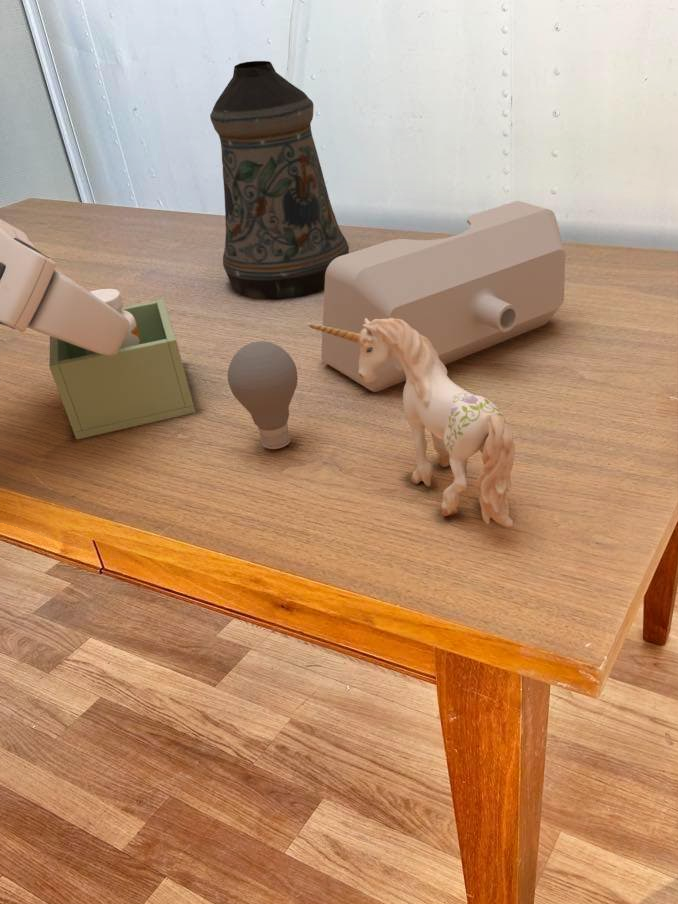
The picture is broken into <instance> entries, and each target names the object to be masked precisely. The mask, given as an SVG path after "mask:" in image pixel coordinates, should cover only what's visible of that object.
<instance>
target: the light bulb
mask: <svg viewBox="0 0 678 904" xmlns="http://www.w3.org/2000/svg"><path fill="white" fill-rule="evenodd" d="M227 382H228V383H227V384H228V386H229V389H230V391H231V393H232V395H233V396H234V398H235V399H236V400H237V401H238V402H239V403H240V404H241V406H242V407H244V408H245V409H246V411H247V412H248V413H249V414H250V416H251V418H252V421H253V423H254V425H255V426H256V427H257V429H258V431H259V436H260V441H261V445H262V447H264V448H265V449H269V450H279V449H282V448H285V447H286V446H288V445H289V443H290V442H291V435H290V431H289V426H288V421H289V419H290V418H289V417H290V405H291V403H292V399H293V397H294V394H295V392H296V389H297V385H298V369H297V365H296V363H295V361H294V360H293V358H292V356H291V355H290V354H289V353H288V352H287V351H286V350H285V349H284V348H282V347H280V346H279V345H278V344H275V343H273V342H270V341H253V342H250V343H248V344H245V345H244V346H242V347H240V348H239V350H237V351H236V353H235V354H234V355H233V357H232V358H231V361H230V363H229V365H228V369H227Z"/></svg>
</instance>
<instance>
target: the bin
mask: <svg viewBox="0 0 678 904" xmlns="http://www.w3.org/2000/svg"><path fill="white" fill-rule="evenodd" d="M122 310H125V311H128V312H129V313H131V314H132V315H133V316H134V319H135V321H136V324H137V328H138V331H139V335H140V339H141V342H142V344H139V345H135V346H130V347H125V348H120V349H119V350H118V352H117V354H116V355H114V356H106V355H102V354H99V353H96V354H92V355H87V353H86V350H85V349H84V348H81V347H78V346H76V345H73V344H70V343H67V342H65V341H62V340H59V339H56V338H54V337H51V336H49V360H48V363H49V366H48V367H49V370H50V372H51V375H52V378H53V381H54V383H55V387H56V389H57V392H58V394H59V398H60V400H61V402H62V405H63V407H64V410H65V413H66V416H67V419H68V421H69V424H70V427H71V429H72V432H73V434H74V437H75V439H76V440H81V439H86V438H90V437H94V436H98V435H102V434H107V433H112V432H117V431H121V430H125V429H128V428H134V427H138V426H143V425H147V424H152V423H155V422H159V421H164V420H165V421H166V420H168V419H173V418H177V417H181V416H186V415H190V414H195V413H196V409H195V405H194V402H193V398H192V394H191V390H190V387H189V383H188V379H187V375H186V372H185V368H184V364H183V360H182V357H181V354H180V353H181V352H180V350H179V345H178V342H177V338H176V335H175V331H174V328H173V326H172V321H171V317H170V316H169V312H168V308H167V305H166V301H165V299H164V298H162V299H161V298H160V299H156V300H155V299H154V300H151V301H146V302H145V301H144V302H141V303H136V304H135V303H134V304H132V305H131V304H130V305H126V306H125V305H124V306H123V309H122Z"/></svg>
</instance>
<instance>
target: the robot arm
mask: <svg viewBox="0 0 678 904" xmlns="http://www.w3.org/2000/svg"><path fill="white" fill-rule="evenodd" d="M56 267H57V264H56V262H55V260H53V259H50V257H48V255H46V254H44V253H42V252H41V251H39V249H37V247H35V246H34V244H33V243H32V242H31V241H30V240H29V237H28V236H27V235H26V233H25V232H23V230H20V229H19V228H17V227H15V226H13V225H11V224H10V223H8V222H6V221H4V220H3V219H1V218H0V325H2V326H5V327H8V328H10V329H13V330H17V331H19V332H21V333H22V332H23V333H24V332H26V330H27V329H30V330H32V331H35V332H38V333H40V334H44V335H45V336H49V337H50V336H51V337H54V338H56V339H59V340H62V341H65V342H67V343H70V344H73V345H76V346H78V347H81V348H84V349H87V350H90V351H92V352H95V353H99V354H102V355H106V356H114V355H116V354H117V352H118V350H119V349H120V348H125V347H130V346H135V345H138V344H139V342H140V340H139V338H138V337H137V336H135V335H133V334H132V333H130V332H128V330H129V327H130V323H129V321H128V320H127V319H126V318H125V317H124V316H123V315H121V314H120V313H119V312H118V311H116V310H115V309H113V308H112V307H111V306H109V305H108V304H106V303H105V302H103V301H102V300H100V299H99V298H97V297H96V296H94V295H93V294H91V293H90V292H91V291H89V290H87V289H86V288H84V287H82V286H81V285H80V284H78V283H76V282H75V281H73V280H72V279H71V278H69V277H68V276H66V275H65V274H63V273H62V272H60V271H59V270H58V269H56Z"/></svg>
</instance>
